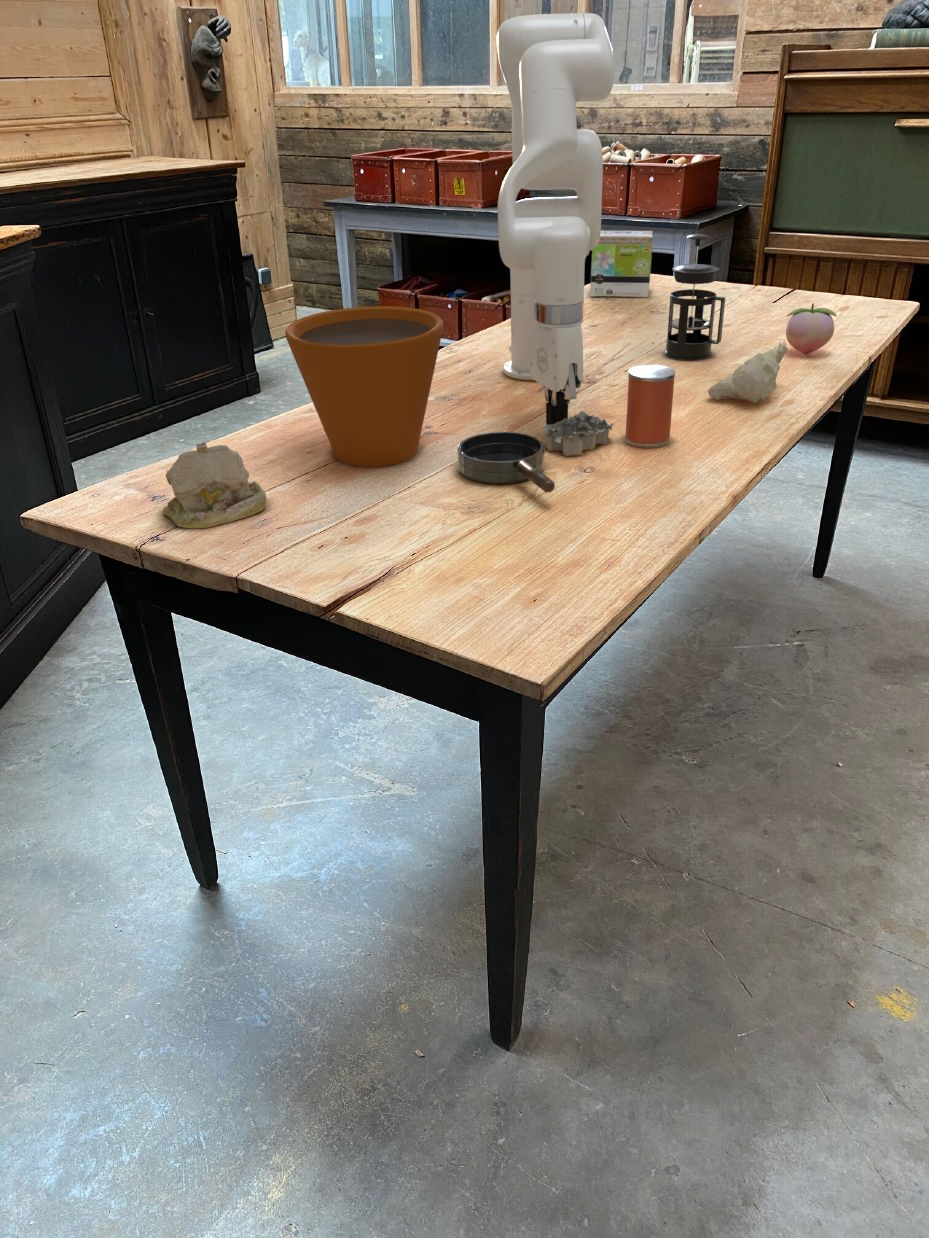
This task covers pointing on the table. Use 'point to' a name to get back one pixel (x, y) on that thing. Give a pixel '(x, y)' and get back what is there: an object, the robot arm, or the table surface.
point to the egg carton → (576, 434)
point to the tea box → (622, 264)
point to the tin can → (649, 406)
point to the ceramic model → (211, 488)
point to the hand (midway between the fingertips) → (556, 425)
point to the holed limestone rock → (751, 377)
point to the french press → (692, 343)
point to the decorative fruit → (809, 328)
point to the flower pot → (369, 377)
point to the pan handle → (535, 476)
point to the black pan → (499, 456)
